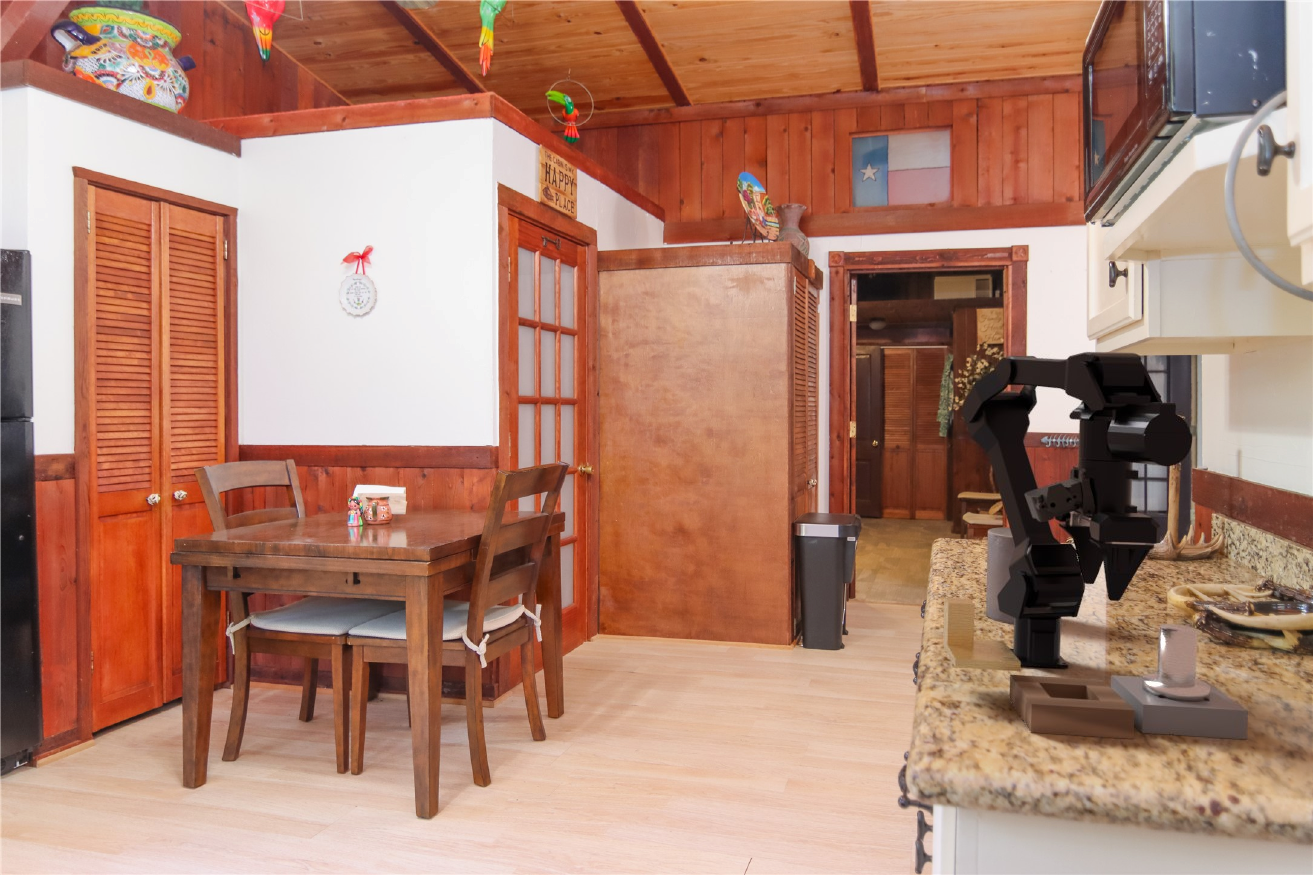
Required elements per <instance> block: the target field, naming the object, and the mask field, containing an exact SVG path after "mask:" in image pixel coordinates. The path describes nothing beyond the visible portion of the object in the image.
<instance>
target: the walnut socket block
mask: <svg viewBox="0 0 1313 875" xmlns="http://www.w3.org/2000/svg"><path fill="white" fill-rule="evenodd" d="M1008 699H1010V700H1009V702H1010V701H1011V702H1012V703H1011V702H1010V703H1011V705H1012V704H1013V705H1014V706H1013V705H1012V706H1013V708H1014V707H1015V708H1016V709H1015V708H1014V709H1015V711H1016V710H1017V711H1018V712H1017V711H1016V712H1017V714H1018V713H1019V714H1020V715H1019V714H1018V715H1019V717H1020V716H1021V717H1022V718H1021V717H1020V718H1021V719H1023V720H1024V721H1023V720H1022V721H1023V723H1024V722H1025V723H1026V724H1025V723H1024V724H1025V725H1027V726H1026V727H1027V729H1028V728H1029V729H1028V730H1029V732H1030V731H1031V732H1030V733H1034V732H1035V733H1034V734H1052V735H1067V736H1081V737H1082V736H1084V737H1096V738H1097V737H1098V738H1099V737H1101V738H1110V739H1111V738H1113V739H1127V740H1128V739H1129V740H1133V739H1134V736H1135V725H1134V715H1135V710H1134V709H1133V708H1132V707H1131V706H1130V705H1129V704H1128V703H1127V702H1126V701H1125V700H1124V699H1122V698H1121V697H1120V696H1119V695H1118V694H1117V693H1116V692H1115V691H1114V690H1113V689H1112V688H1111V685H1109V684H1108V683H1107V682H1106V681H1105V680H1104V679H1097V678H1096V679H1095V678H1094V679H1093V678H1079V677H1062V676H1061V677H1059V676H1042V675H1041V676H1039V675H1025V674H1024V675H1023V674H1009V698H1008Z"/></svg>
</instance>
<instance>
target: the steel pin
mask: <svg viewBox="0 0 1313 875" xmlns="http://www.w3.org/2000/svg"><path fill="white" fill-rule="evenodd" d="M1158 628H1159V629H1158V646H1157V647H1158V648H1157V650H1158V651H1157V672H1155V673H1146V674H1144V675H1143V676H1142V677H1143V678H1142V688H1143V689H1144V690H1146V691H1147V692H1149V693H1151V694H1154V695H1157V696H1158V697H1159V698H1167V699H1174V700H1181V701H1204V700H1208V699H1209V698H1210V686H1209V685H1208V684H1206V683H1205V682H1203V681H1200V680H1201V679H1197V678H1196V676H1197V675H1196V672H1197V655H1198V654H1197V653H1198V652H1197V651H1198V633H1199V630H1198V629H1197V628H1195V627H1192V626H1188V625H1185V624H1183V625H1182V624H1174V623H1163V624H1160V625H1159V626H1158Z"/></svg>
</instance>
